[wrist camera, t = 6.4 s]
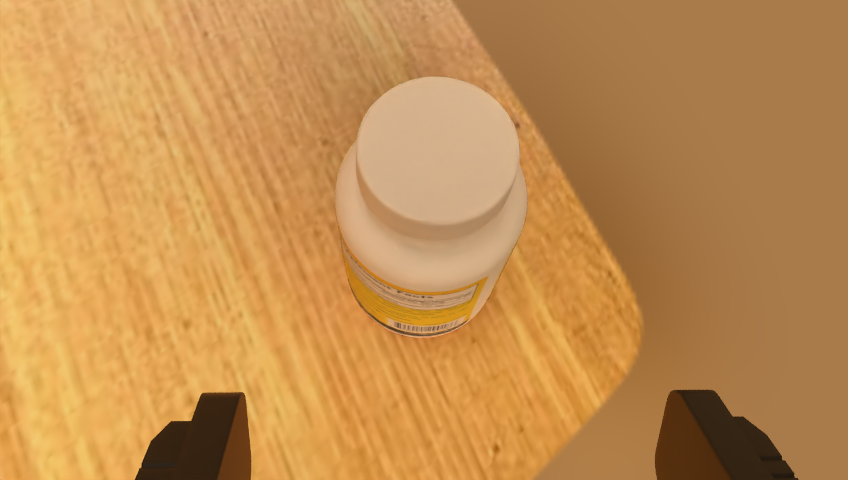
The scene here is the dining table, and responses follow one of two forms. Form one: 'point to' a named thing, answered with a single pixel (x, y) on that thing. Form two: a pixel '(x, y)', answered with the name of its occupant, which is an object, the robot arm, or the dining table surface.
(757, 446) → the robot arm
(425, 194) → the supplement bottle
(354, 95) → the dining table surface
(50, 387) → the dining table surface
